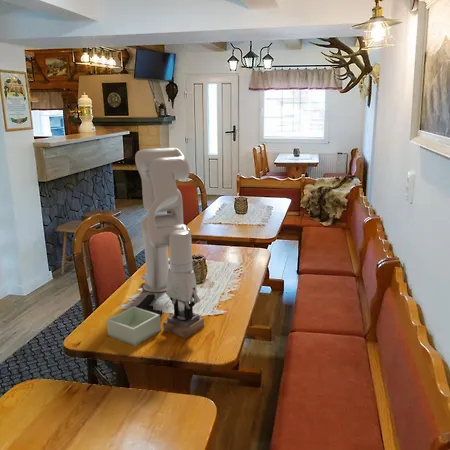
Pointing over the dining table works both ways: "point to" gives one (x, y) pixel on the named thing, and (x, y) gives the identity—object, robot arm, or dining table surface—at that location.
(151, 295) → the pistol
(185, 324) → the brown square base
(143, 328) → the bin
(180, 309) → the light bulb
